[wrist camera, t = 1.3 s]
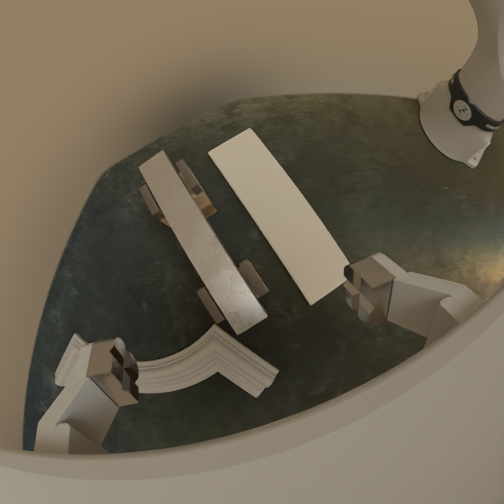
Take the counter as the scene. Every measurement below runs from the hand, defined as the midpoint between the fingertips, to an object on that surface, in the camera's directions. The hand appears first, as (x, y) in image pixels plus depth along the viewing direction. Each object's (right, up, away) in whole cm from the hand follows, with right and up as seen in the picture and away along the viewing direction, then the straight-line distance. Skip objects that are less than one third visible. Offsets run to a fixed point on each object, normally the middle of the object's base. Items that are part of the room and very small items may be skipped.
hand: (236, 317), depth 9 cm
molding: (-16, -18, +30) cm, 39 cm away
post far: (-8, +8, +32) cm, 35 cm away
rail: (-5, +4, +23) cm, 23 cm away
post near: (-1, -3, +30) cm, 31 cm away
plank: (+5, +8, +32) cm, 33 cm away
